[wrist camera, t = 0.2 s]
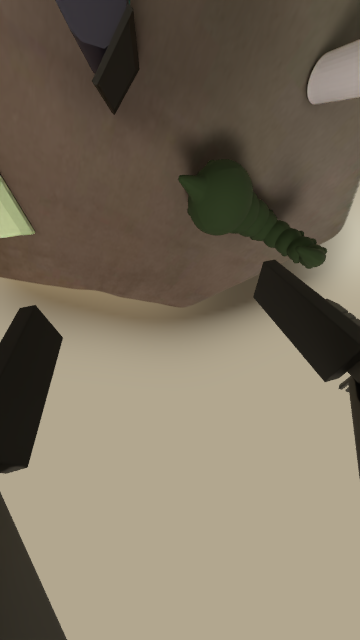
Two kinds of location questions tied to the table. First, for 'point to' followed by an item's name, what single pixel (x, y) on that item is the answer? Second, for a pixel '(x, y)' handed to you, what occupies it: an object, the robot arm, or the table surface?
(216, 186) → the toy figurine
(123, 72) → the speaker
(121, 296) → the table surface
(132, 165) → the table surface
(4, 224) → the notebook
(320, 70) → the perfume bottle
